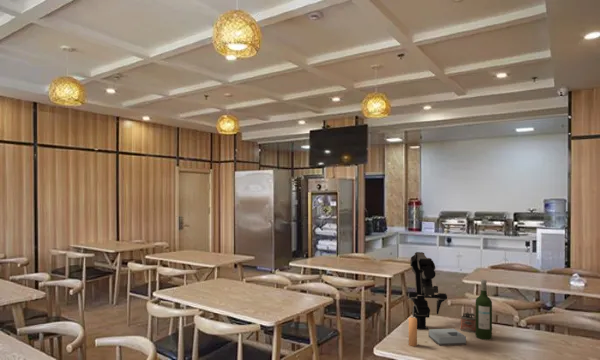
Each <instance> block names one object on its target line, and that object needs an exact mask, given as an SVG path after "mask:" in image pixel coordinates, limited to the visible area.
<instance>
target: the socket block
mask: <svg viewBox="0 0 600 360" xmlns="http://www.w3.org/2000/svg"><path fill="white" fill-rule="evenodd" d="M428 338H429V339H431V340H432V341H433V342H434V343H436V344H437V345H438V346H464V345H465V346H466V345H467V336H466V335H465V334H463V333H461V332H460V331H459V330H457V329H455V328H434V329H433V328H432V329H429V328H428Z"/></svg>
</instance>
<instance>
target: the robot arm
mask: <svg viewBox="0 0 600 360" xmlns="http://www.w3.org/2000/svg"><path fill="white" fill-rule="evenodd" d="M409 262H410V264H409V265H410V267H411V272H413V274H414V281H415V291H409V292H408V293H407V299H410V301H412V302H413V306H412V312H411V313H412V318H417V330H429V328H428V326H427V325H426V324H427V319H430V317H431V316H430V314H431V309H430V306H429V303H428V301H427V300H426V299H437V300H436V315H439V313H440V309H441V305H442V303H443V302H445V301H447V300H448V295H447V293H439V286H438V285H433V280H434V279H435V277H436V265H435V263H434V260H433V259H432V258H431V257H427V256H426V255H425V253H424V252H421V251H418V252H417V251H416V252H415V253H414V255H412V256H411V257H410V261H409Z"/></svg>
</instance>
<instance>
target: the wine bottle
mask: <svg viewBox="0 0 600 360" xmlns="http://www.w3.org/2000/svg"><path fill="white" fill-rule="evenodd" d="M487 282H488V281H487V280H486V279H480V295H479V296H477V297H476V299H475V318H476V333H475V337H476V338H477V339H480V340H486V341H490V340H492V338H493V301H492V299H491V298H490V297H489V295H488V291H487V290H488V288H487V287H488V286H487V284H488V283H487Z"/></svg>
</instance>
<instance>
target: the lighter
mask: <svg viewBox="0 0 600 360" xmlns="http://www.w3.org/2000/svg"><path fill="white" fill-rule="evenodd" d="M460 331H463V332H467V333H474V334H476V313H472V312H468V311H467V312H464V311H463V312H462V315H460Z"/></svg>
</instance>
